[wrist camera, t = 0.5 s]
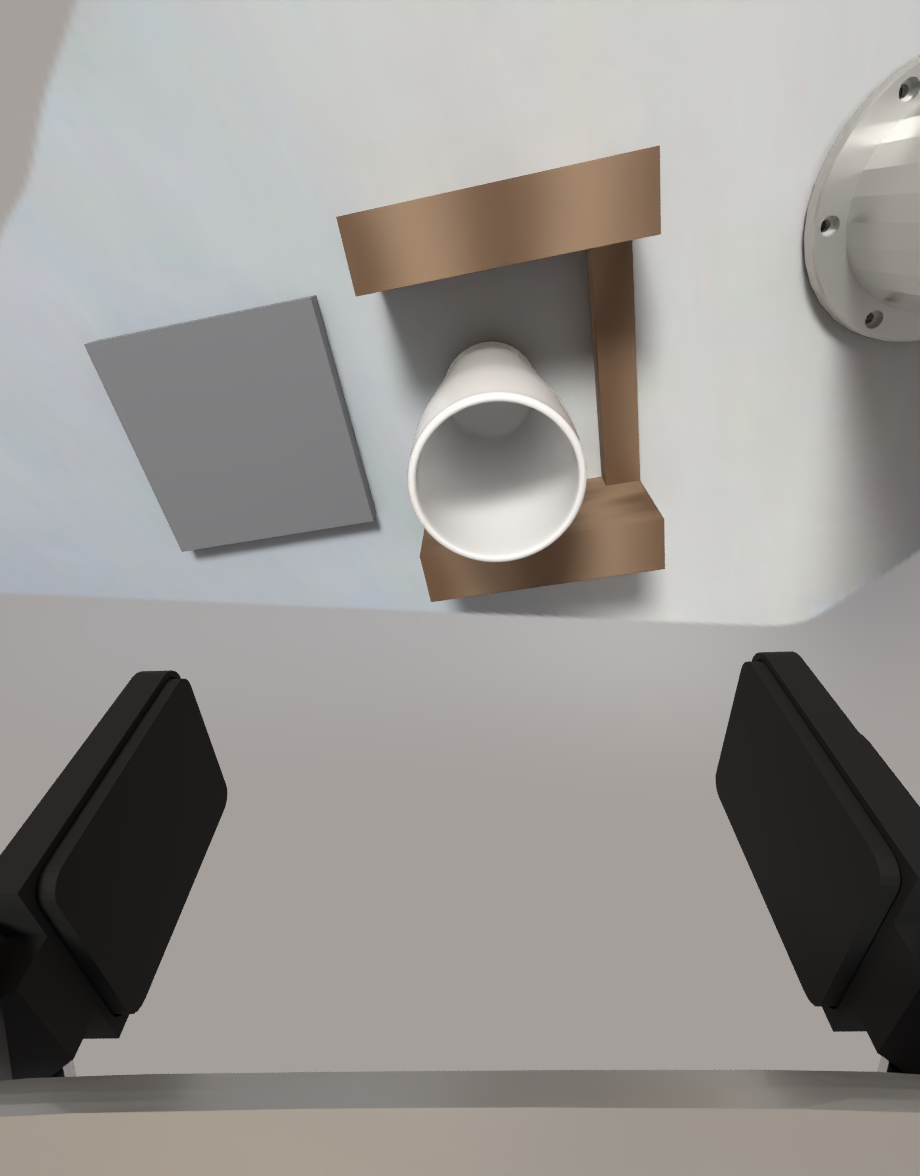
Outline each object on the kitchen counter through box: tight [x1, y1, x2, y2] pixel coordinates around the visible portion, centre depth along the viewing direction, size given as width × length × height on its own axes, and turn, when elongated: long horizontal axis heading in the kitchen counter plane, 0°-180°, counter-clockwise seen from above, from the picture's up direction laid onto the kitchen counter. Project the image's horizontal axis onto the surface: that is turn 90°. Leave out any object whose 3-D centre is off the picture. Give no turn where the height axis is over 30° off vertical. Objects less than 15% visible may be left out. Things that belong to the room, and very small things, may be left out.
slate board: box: [84, 296, 376, 552], centre depth 36 cm, size 13×13×1 cm
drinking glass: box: [408, 342, 587, 562], centre depth 29 cm, size 7×7×15 cm
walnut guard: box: [336, 146, 665, 602], centre depth 32 cm, size 13×19×7 cm
